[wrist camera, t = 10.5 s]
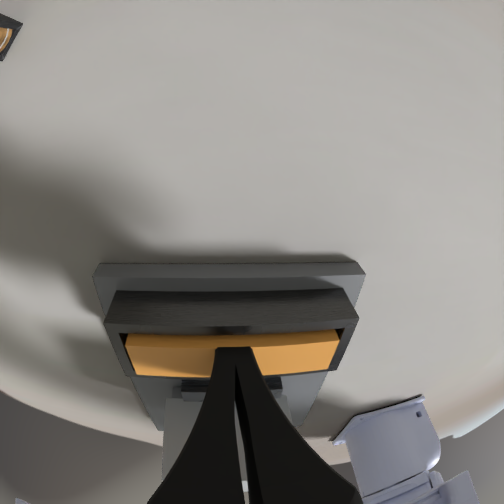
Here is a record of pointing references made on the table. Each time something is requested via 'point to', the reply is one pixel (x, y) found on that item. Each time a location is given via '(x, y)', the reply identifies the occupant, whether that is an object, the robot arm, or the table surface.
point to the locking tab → (203, 347)
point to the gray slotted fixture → (228, 322)
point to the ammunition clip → (7, 33)
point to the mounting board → (228, 279)
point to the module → (182, 421)
